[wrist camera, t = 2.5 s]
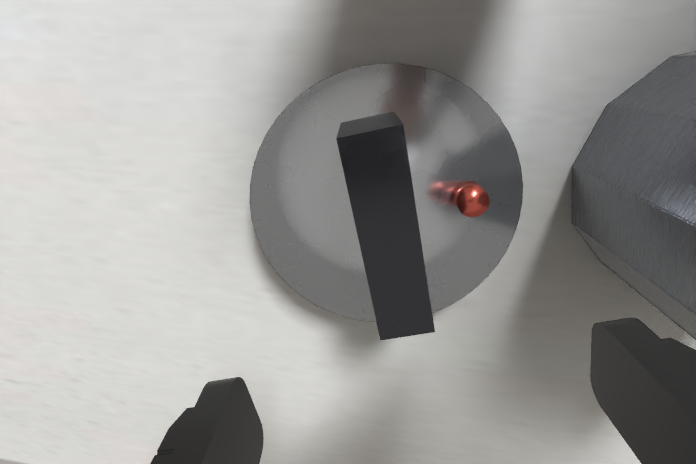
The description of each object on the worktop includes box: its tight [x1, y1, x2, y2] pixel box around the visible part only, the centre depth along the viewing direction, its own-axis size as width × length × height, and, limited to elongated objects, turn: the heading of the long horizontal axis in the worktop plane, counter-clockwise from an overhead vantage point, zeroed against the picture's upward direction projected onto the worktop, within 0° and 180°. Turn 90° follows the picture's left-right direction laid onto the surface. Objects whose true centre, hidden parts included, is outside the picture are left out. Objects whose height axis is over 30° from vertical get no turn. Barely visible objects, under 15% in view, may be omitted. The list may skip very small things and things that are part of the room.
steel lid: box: [250, 64, 523, 340], centre depth 18 cm, size 13×13×6 cm
